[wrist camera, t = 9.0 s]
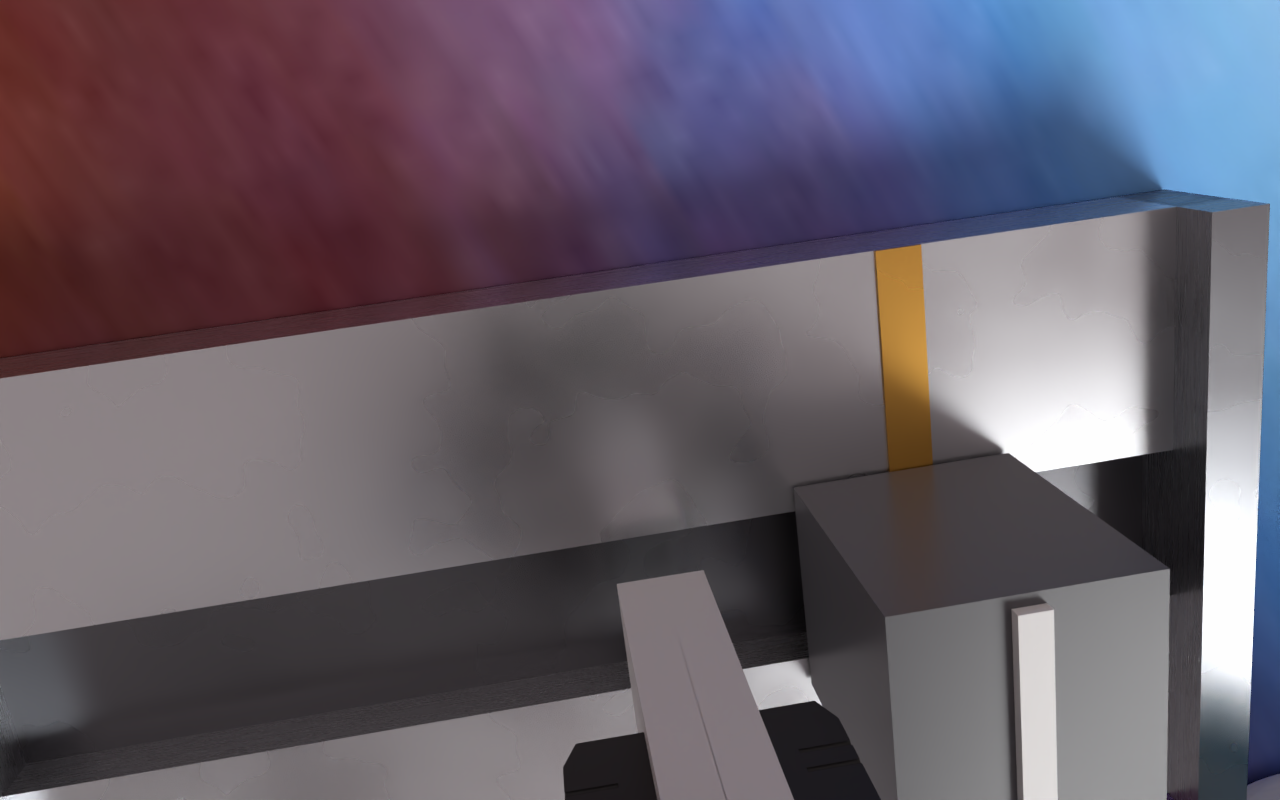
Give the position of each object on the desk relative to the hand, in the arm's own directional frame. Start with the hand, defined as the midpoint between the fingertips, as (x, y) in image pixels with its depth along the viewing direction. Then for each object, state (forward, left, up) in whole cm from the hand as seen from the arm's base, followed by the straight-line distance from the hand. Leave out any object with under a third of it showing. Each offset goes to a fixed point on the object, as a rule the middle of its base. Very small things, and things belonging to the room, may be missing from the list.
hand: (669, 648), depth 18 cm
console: (-1, 0, -3) cm, 3 cm away
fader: (+5, 0, -2) cm, 5 cm away
